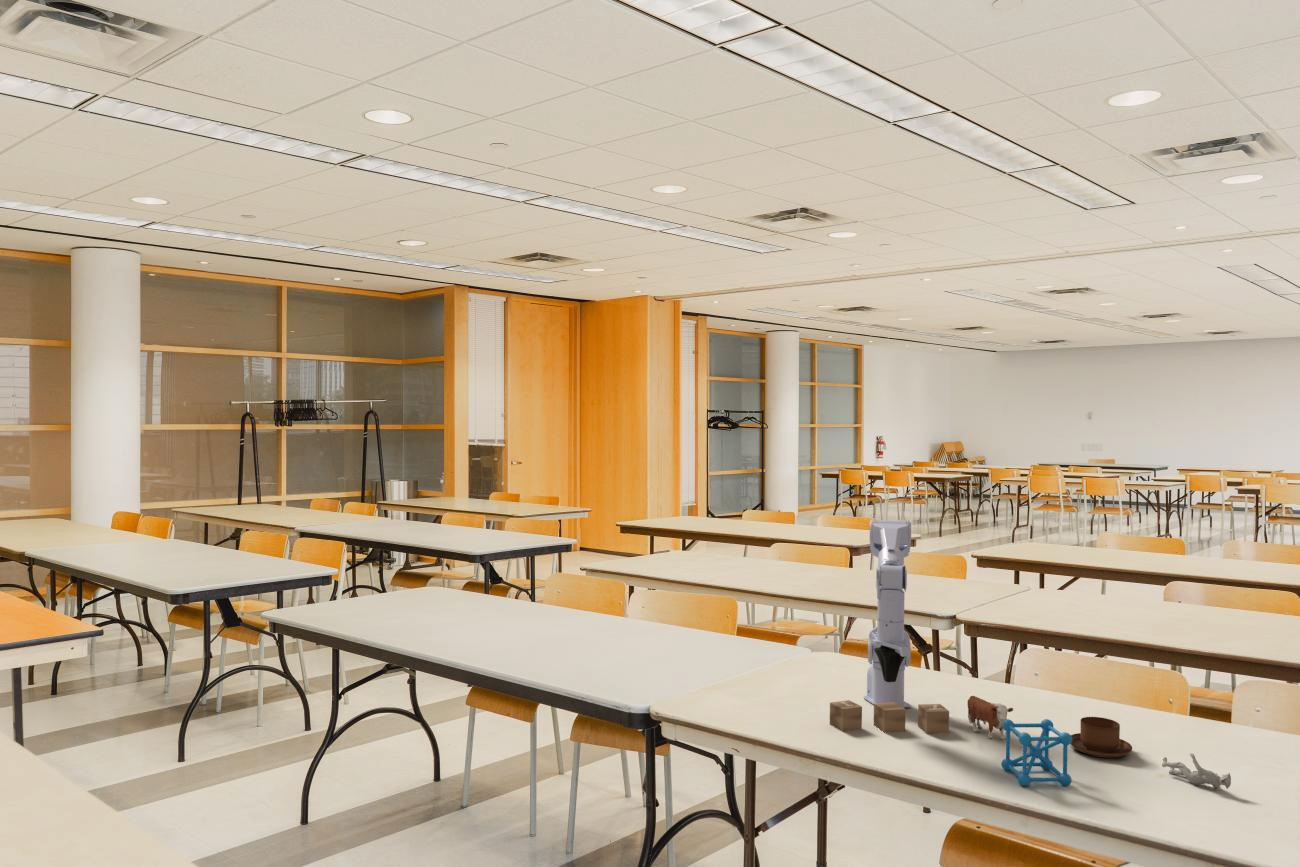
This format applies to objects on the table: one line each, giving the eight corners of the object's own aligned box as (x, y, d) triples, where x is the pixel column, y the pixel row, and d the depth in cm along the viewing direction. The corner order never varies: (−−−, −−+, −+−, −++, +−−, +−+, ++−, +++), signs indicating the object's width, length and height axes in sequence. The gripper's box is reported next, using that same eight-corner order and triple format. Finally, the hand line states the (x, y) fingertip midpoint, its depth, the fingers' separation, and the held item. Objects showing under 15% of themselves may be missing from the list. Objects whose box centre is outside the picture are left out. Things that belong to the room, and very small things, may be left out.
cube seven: (917, 726, 211) (918, 704, 211) (939, 726, 211) (940, 703, 211) (926, 734, 206) (926, 711, 206) (948, 733, 206) (949, 710, 206)
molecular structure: (1049, 768, 186) (1050, 717, 186) (1073, 788, 176) (1074, 734, 176) (999, 768, 186) (1000, 717, 186) (1020, 788, 176) (1021, 735, 176)
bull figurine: (1000, 747, 198) (1000, 708, 198) (962, 726, 211) (963, 690, 211) (1018, 745, 199) (1018, 706, 199) (979, 725, 212) (980, 688, 212)
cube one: (829, 724, 211) (829, 702, 211) (848, 722, 213) (848, 699, 213) (842, 731, 207) (842, 708, 207) (861, 729, 209) (862, 706, 209)
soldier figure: (1181, 775, 186) (1244, 775, 176) (1177, 797, 183) (1240, 798, 173) (1158, 751, 184) (1220, 749, 174) (1153, 772, 181) (1216, 772, 172)
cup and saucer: (1077, 737, 204) (1077, 709, 204) (1138, 750, 197) (1138, 721, 197) (1060, 753, 195) (1060, 723, 195) (1123, 767, 187) (1124, 736, 187)
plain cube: (873, 725, 211) (873, 703, 211) (894, 724, 212) (894, 702, 212) (884, 733, 206) (884, 710, 206) (905, 731, 207) (905, 708, 207)
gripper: (859, 613, 215) (858, 673, 215) (889, 627, 201) (888, 691, 201) (887, 612, 217) (887, 671, 217) (919, 626, 202) (919, 689, 203)
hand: (889, 681), depth 209 cm, fingers closed
